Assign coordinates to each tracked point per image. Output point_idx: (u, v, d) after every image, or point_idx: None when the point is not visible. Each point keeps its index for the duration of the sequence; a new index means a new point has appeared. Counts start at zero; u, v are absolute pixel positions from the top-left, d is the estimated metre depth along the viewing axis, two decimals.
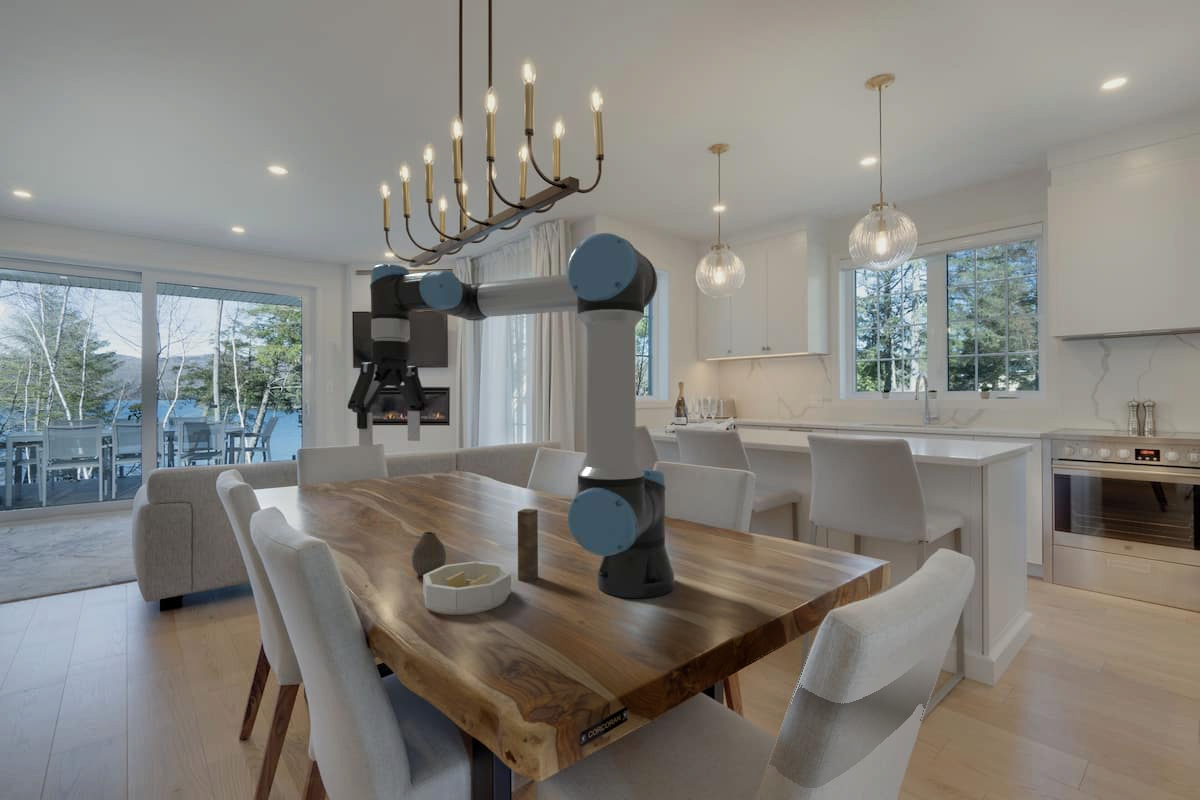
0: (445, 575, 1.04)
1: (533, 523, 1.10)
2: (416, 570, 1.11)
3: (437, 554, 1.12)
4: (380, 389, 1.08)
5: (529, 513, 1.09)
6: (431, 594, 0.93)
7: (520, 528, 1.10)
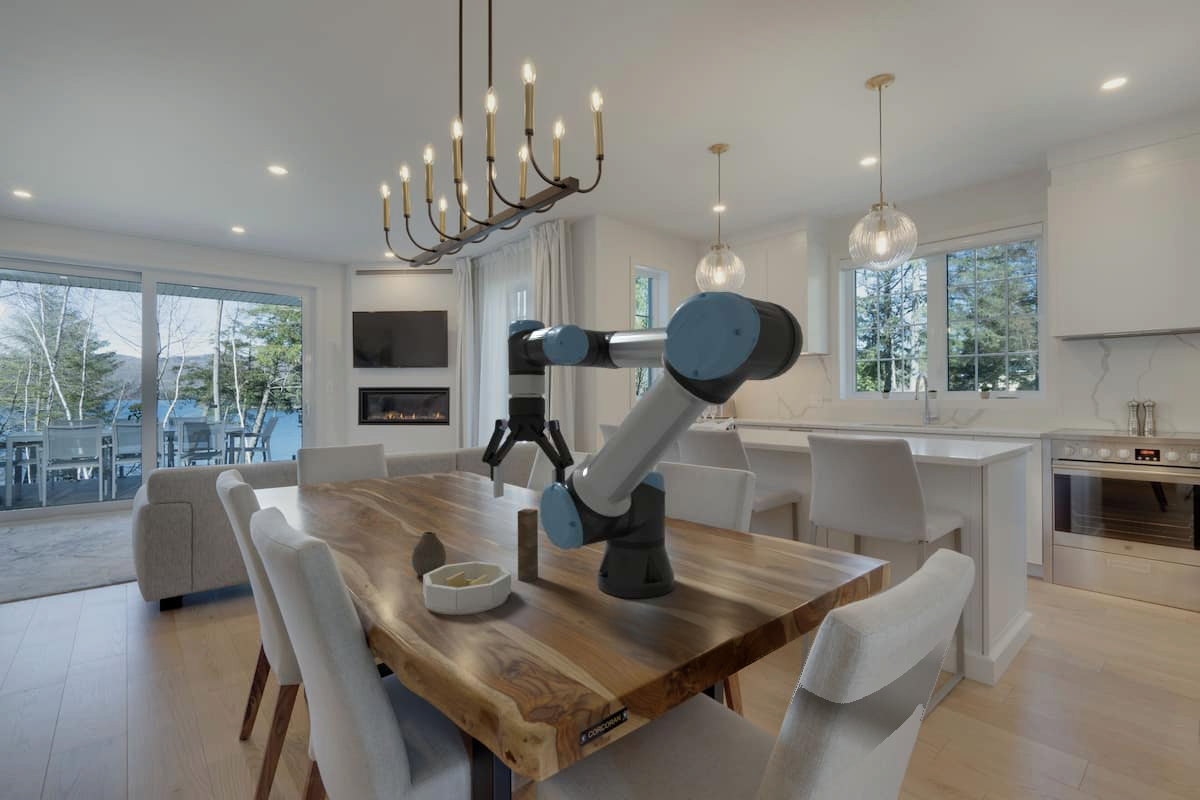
0: (445, 575, 1.04)
1: (533, 523, 1.10)
2: (416, 570, 1.11)
3: (437, 554, 1.12)
4: (506, 445, 1.11)
5: (529, 513, 1.09)
6: (431, 594, 0.93)
7: (520, 528, 1.10)
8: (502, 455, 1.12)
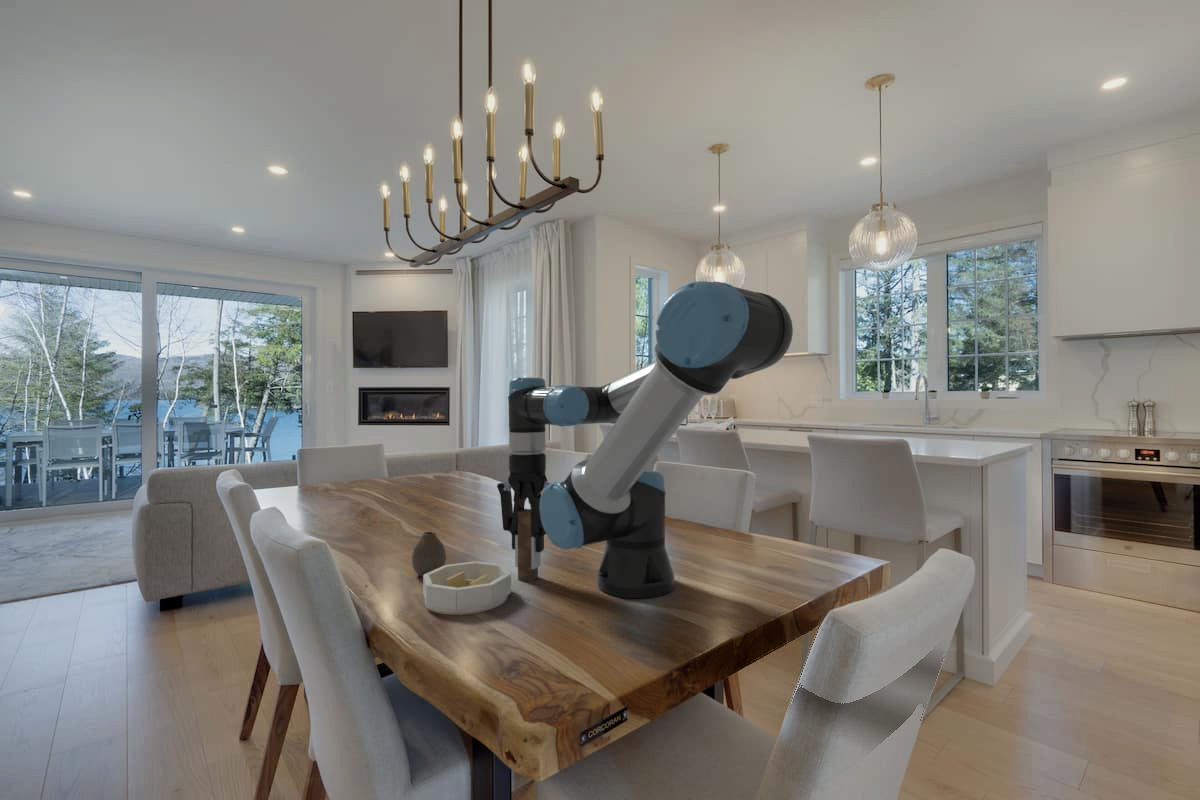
0: (445, 575, 1.04)
1: None
2: (416, 570, 1.11)
3: (438, 554, 1.12)
4: (517, 506, 1.10)
5: (529, 513, 1.09)
6: (431, 594, 0.93)
7: (520, 528, 1.10)
8: None
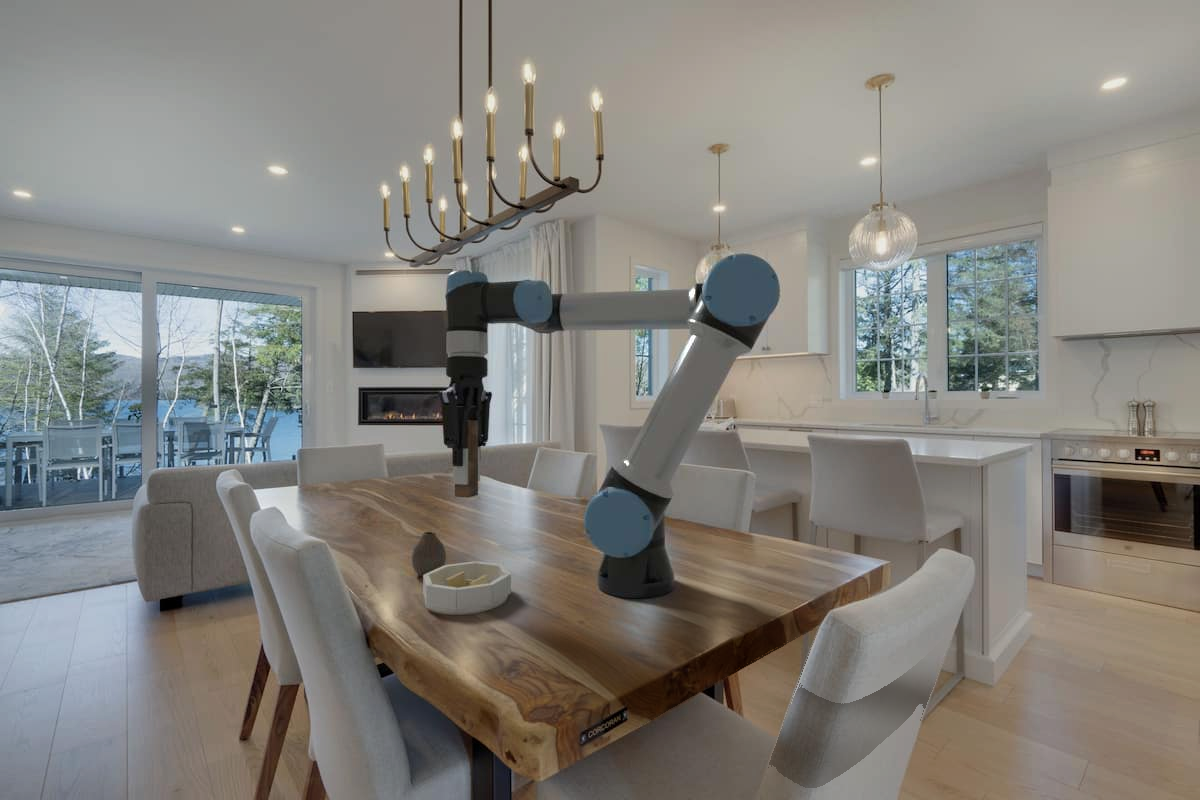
0: (445, 575, 1.04)
1: None
2: (416, 570, 1.11)
3: (437, 554, 1.12)
4: (466, 416, 0.98)
5: (477, 421, 1.00)
6: (431, 594, 0.93)
7: (470, 439, 0.99)
8: None
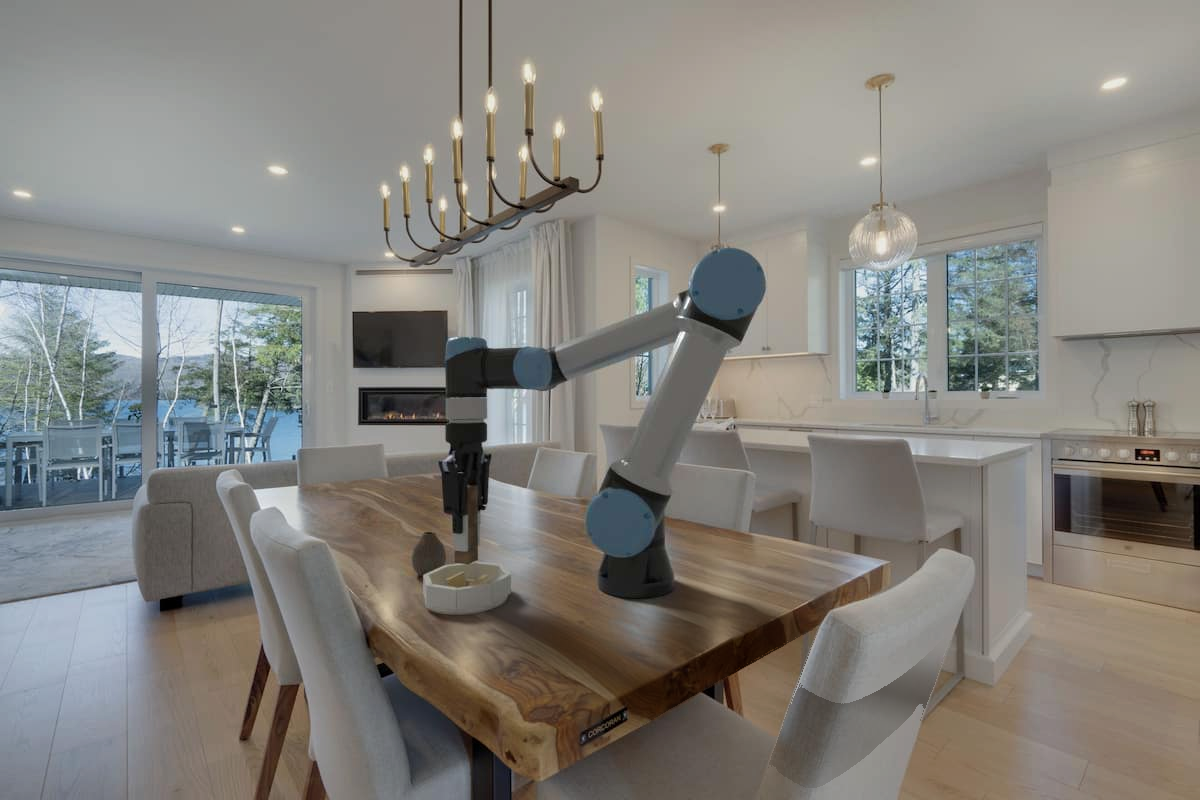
0: (445, 575, 1.04)
1: None
2: (416, 570, 1.11)
3: (437, 554, 1.12)
4: (466, 482, 0.97)
5: (476, 486, 1.00)
6: (431, 594, 0.93)
7: (470, 505, 0.98)
8: None
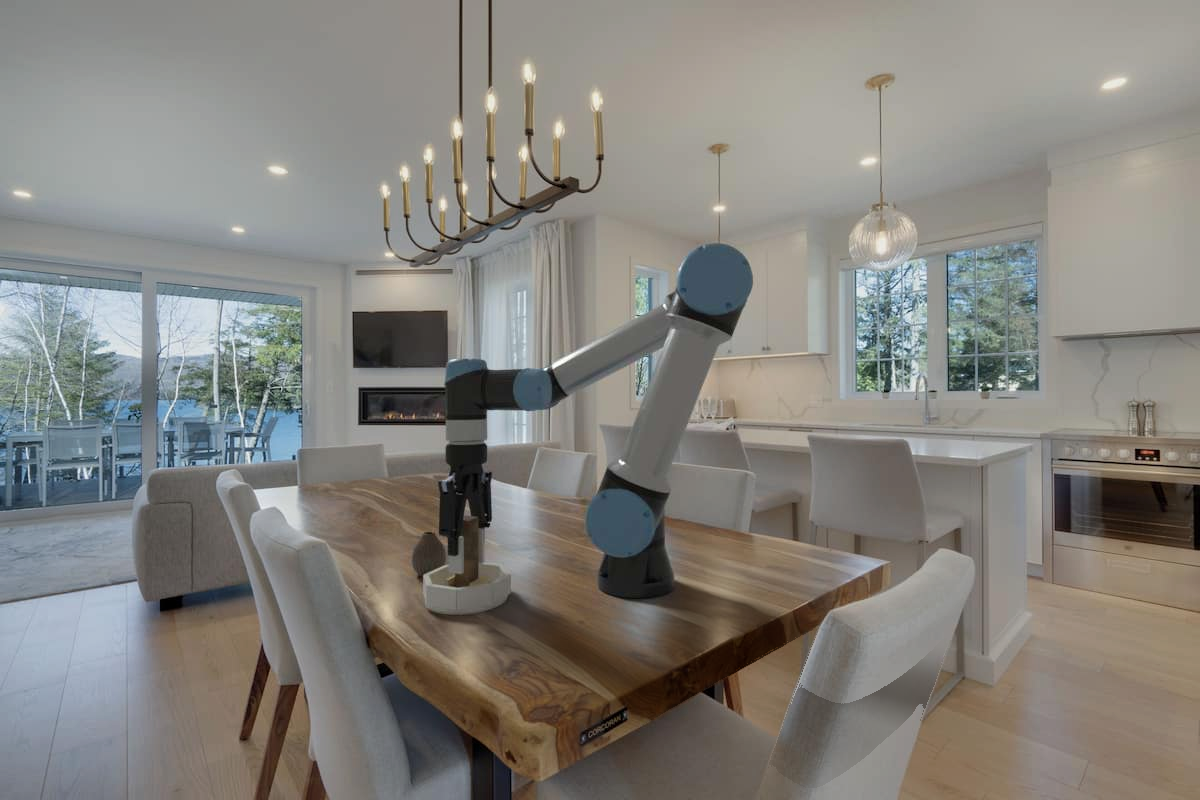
0: (445, 575, 1.04)
1: None
2: (416, 570, 1.11)
3: (437, 554, 1.12)
4: (464, 504, 0.97)
5: (477, 518, 1.00)
6: (431, 594, 0.93)
7: (470, 538, 0.98)
8: None
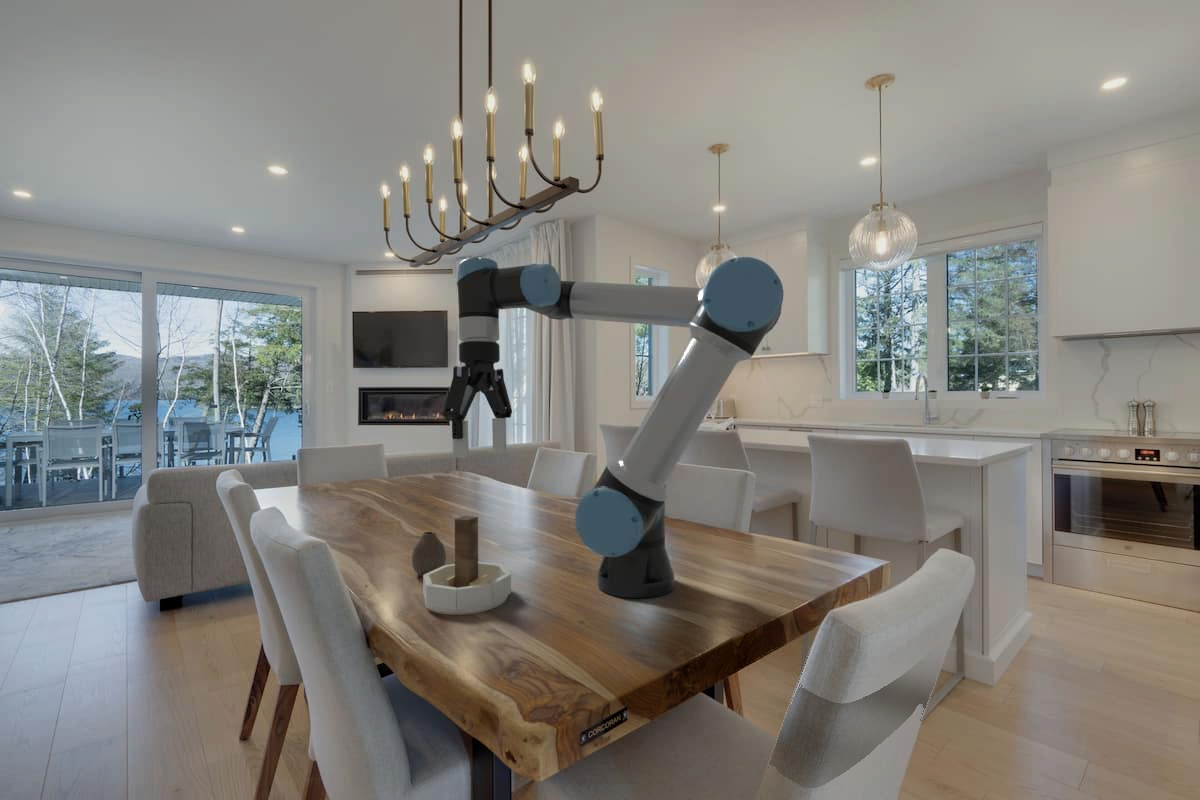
0: (445, 575, 1.04)
1: None
2: (416, 570, 1.11)
3: (437, 554, 1.12)
4: (473, 395, 0.98)
5: (477, 518, 1.00)
6: (431, 594, 0.93)
7: (470, 538, 0.98)
8: None
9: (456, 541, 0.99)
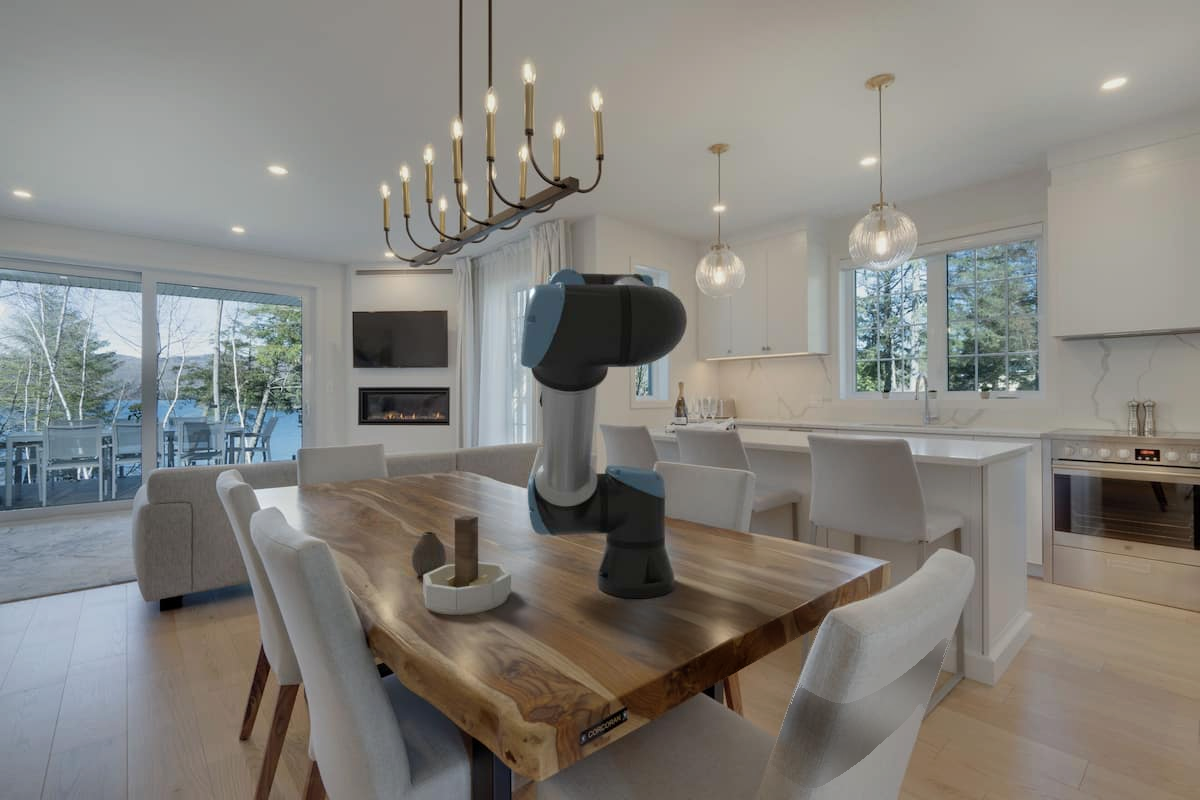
0: (445, 575, 1.04)
1: None
2: (416, 570, 1.11)
3: (437, 554, 1.12)
4: None
5: (477, 518, 1.00)
6: (431, 594, 0.93)
7: (470, 538, 0.98)
8: None
9: (456, 541, 0.99)
